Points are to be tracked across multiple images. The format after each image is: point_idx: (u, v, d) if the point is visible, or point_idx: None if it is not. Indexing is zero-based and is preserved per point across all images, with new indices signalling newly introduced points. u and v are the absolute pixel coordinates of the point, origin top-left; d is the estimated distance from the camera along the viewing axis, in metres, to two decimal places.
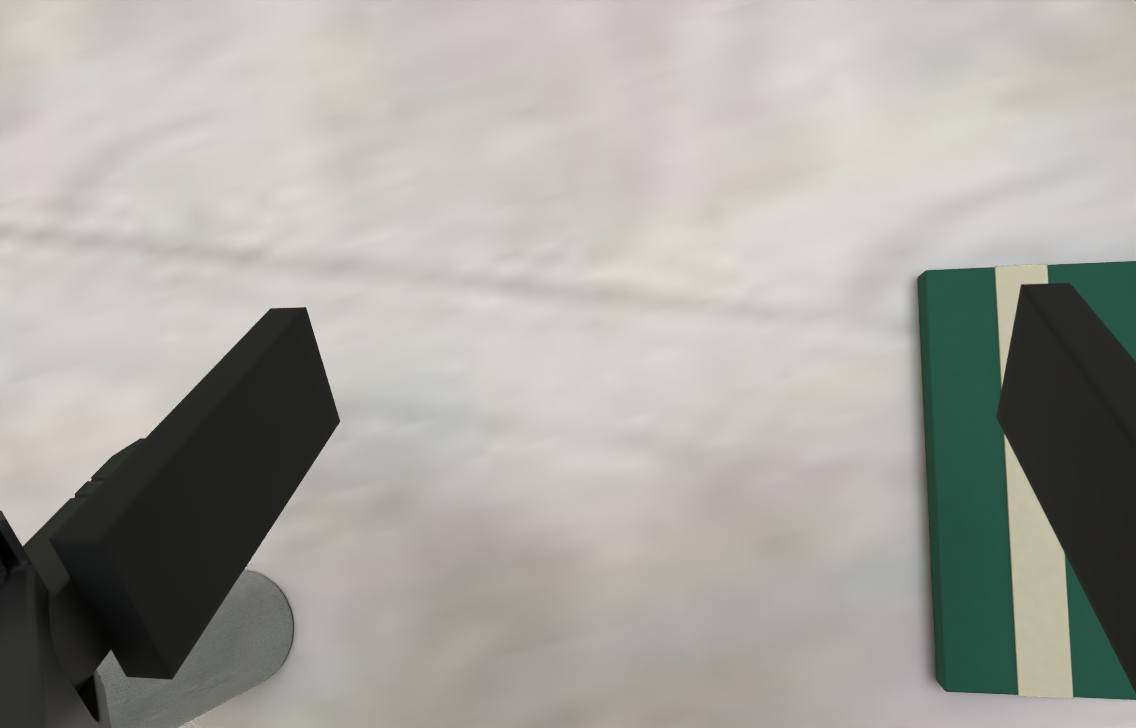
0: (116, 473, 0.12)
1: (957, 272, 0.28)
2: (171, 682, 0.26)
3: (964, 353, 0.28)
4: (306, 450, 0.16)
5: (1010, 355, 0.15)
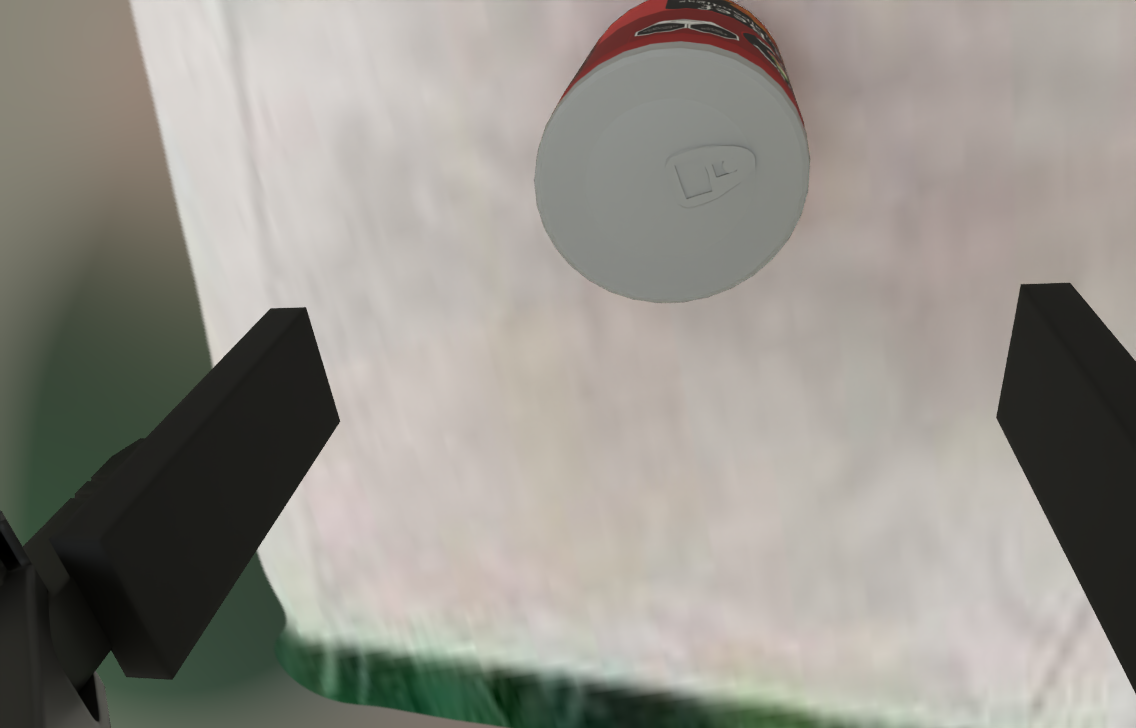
0: (116, 473, 0.12)
1: None
2: None
3: None
4: (306, 449, 0.16)
5: (1010, 355, 0.15)
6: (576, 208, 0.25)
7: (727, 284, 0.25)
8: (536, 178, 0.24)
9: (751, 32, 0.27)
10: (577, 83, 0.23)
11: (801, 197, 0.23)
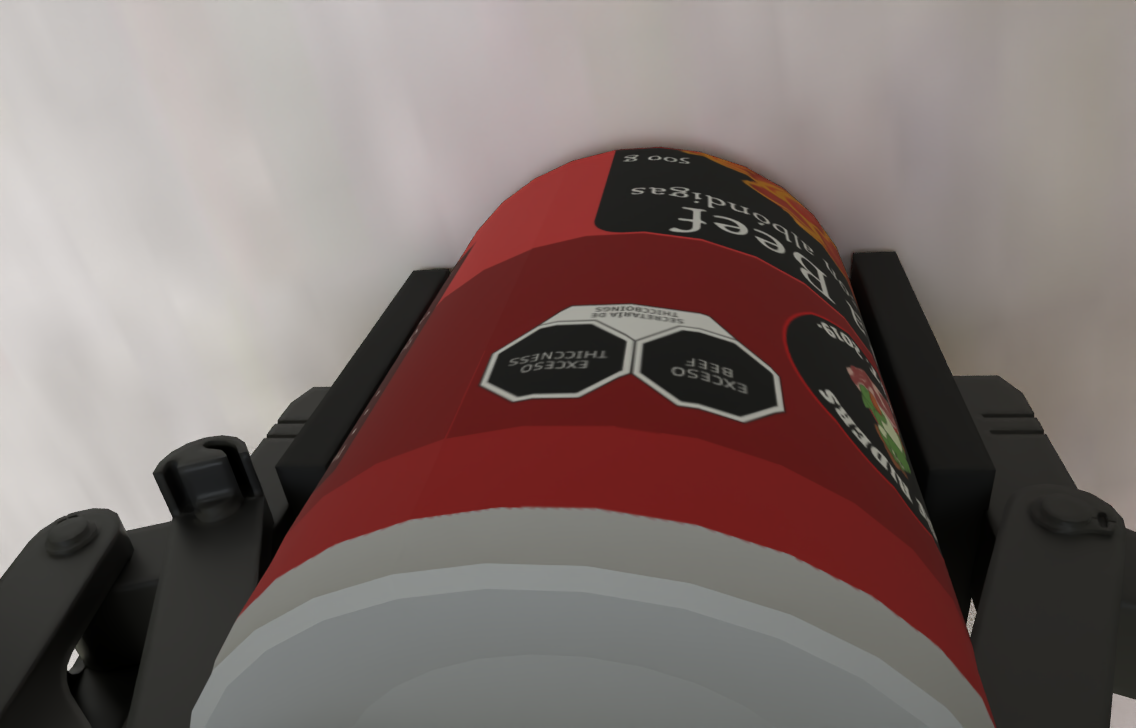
0: (317, 411, 0.13)
1: None
2: None
3: None
4: None
5: None
6: None
7: None
8: None
9: (803, 304, 0.11)
10: (275, 590, 0.07)
11: None
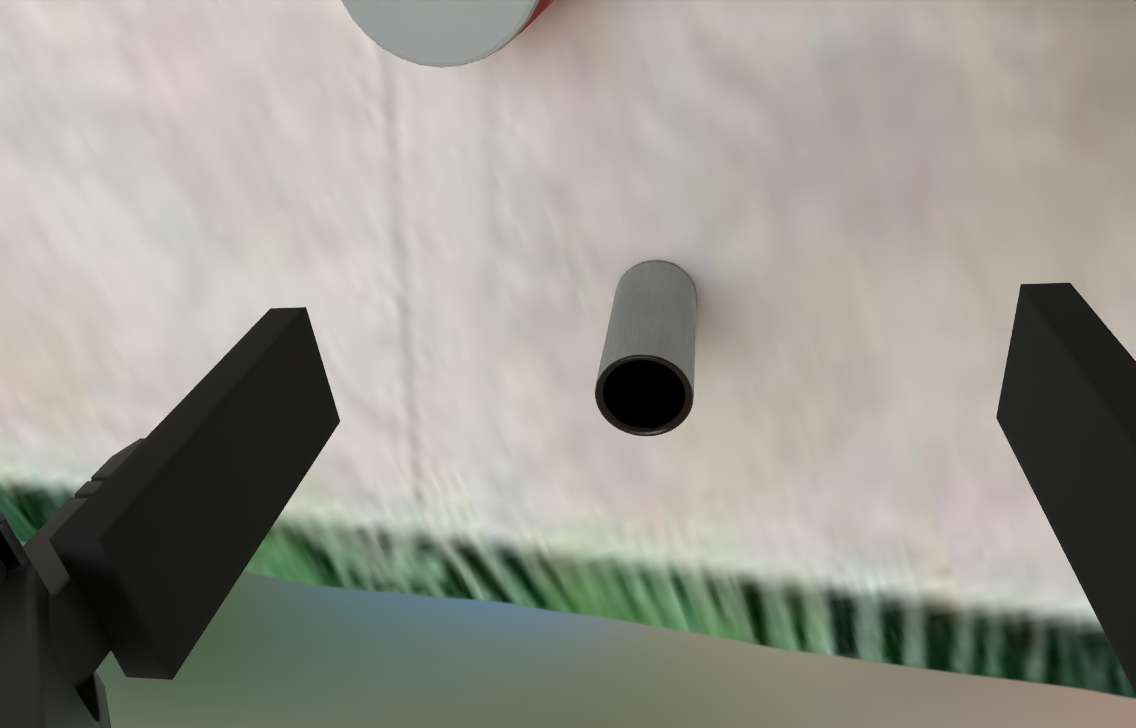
0: (116, 473, 0.12)
1: None
2: (643, 325, 0.39)
3: None
4: (306, 450, 0.16)
5: (1010, 355, 0.15)
6: None
7: (492, 46, 0.30)
8: None
9: None
10: None
11: None
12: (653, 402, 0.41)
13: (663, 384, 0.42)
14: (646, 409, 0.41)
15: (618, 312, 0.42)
